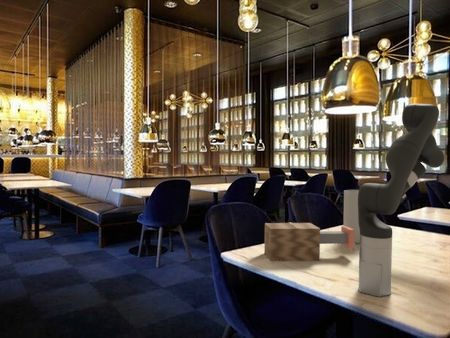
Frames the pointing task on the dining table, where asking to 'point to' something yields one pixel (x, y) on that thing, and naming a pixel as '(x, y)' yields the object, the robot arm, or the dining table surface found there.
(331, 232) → the salmon square plate
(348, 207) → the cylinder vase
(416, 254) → the dining table surface
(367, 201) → the robot arm
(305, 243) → the block
